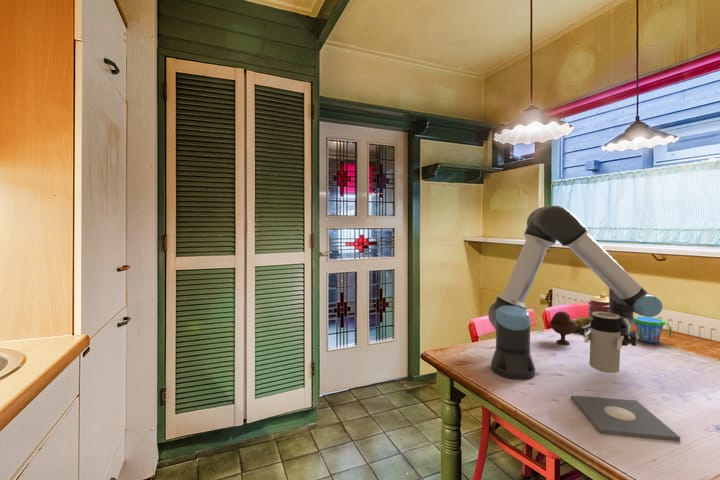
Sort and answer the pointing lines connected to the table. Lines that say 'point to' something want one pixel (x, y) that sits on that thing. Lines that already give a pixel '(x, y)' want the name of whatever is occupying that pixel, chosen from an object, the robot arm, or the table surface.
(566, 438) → the table surface
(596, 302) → the canister
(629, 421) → the mat
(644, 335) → the snack cup
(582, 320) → the potato
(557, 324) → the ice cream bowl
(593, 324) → the travel mug
